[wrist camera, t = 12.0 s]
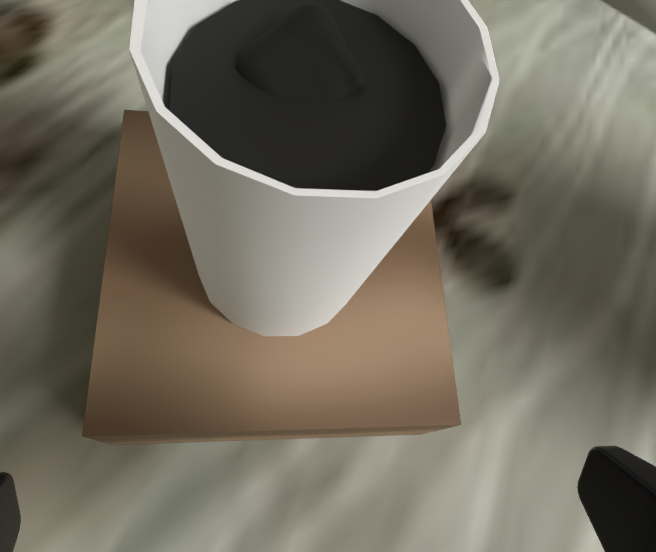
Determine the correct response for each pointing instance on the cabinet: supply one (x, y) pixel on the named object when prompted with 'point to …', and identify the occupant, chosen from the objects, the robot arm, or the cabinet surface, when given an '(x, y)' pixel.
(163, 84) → the white cup
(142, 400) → the walnut block
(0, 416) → the cabinet surface
